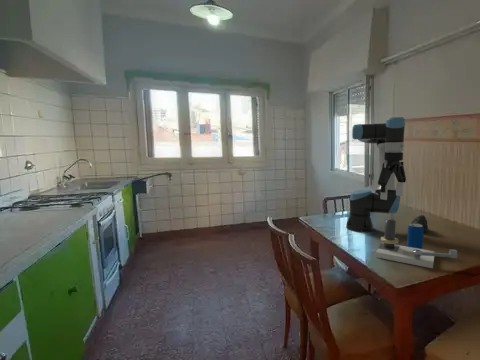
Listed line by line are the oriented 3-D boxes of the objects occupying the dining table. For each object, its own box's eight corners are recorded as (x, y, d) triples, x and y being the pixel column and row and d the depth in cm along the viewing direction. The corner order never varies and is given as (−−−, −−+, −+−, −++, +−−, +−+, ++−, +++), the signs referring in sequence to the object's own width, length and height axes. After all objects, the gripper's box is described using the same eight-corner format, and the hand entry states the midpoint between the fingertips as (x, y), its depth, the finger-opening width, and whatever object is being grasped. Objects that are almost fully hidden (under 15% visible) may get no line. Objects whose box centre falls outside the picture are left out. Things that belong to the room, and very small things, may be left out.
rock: (433, 230, 162) (426, 213, 165) (414, 234, 164) (408, 217, 167) (426, 232, 173) (420, 215, 176) (409, 235, 175) (403, 219, 178)
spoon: (411, 252, 127) (412, 246, 127) (454, 255, 123) (454, 248, 123) (414, 255, 124) (414, 249, 123) (457, 258, 120) (458, 251, 119)
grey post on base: (378, 247, 138) (380, 219, 136) (381, 243, 144) (383, 215, 142) (396, 251, 134) (398, 221, 132) (399, 246, 140) (400, 218, 138)
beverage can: (408, 245, 148) (409, 222, 146) (423, 248, 144) (424, 224, 142) (405, 249, 143) (407, 225, 141) (421, 252, 139) (422, 227, 137)
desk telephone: (375, 257, 134) (376, 248, 133) (381, 247, 146) (382, 239, 145) (432, 268, 121) (433, 258, 121) (434, 256, 133) (435, 247, 133)
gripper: (387, 153, 123) (384, 202, 126) (415, 151, 137) (413, 195, 140) (370, 152, 129) (368, 199, 132) (399, 150, 143) (397, 193, 146)
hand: (391, 197), depth 136 cm, fingers open, 13 cm apart
